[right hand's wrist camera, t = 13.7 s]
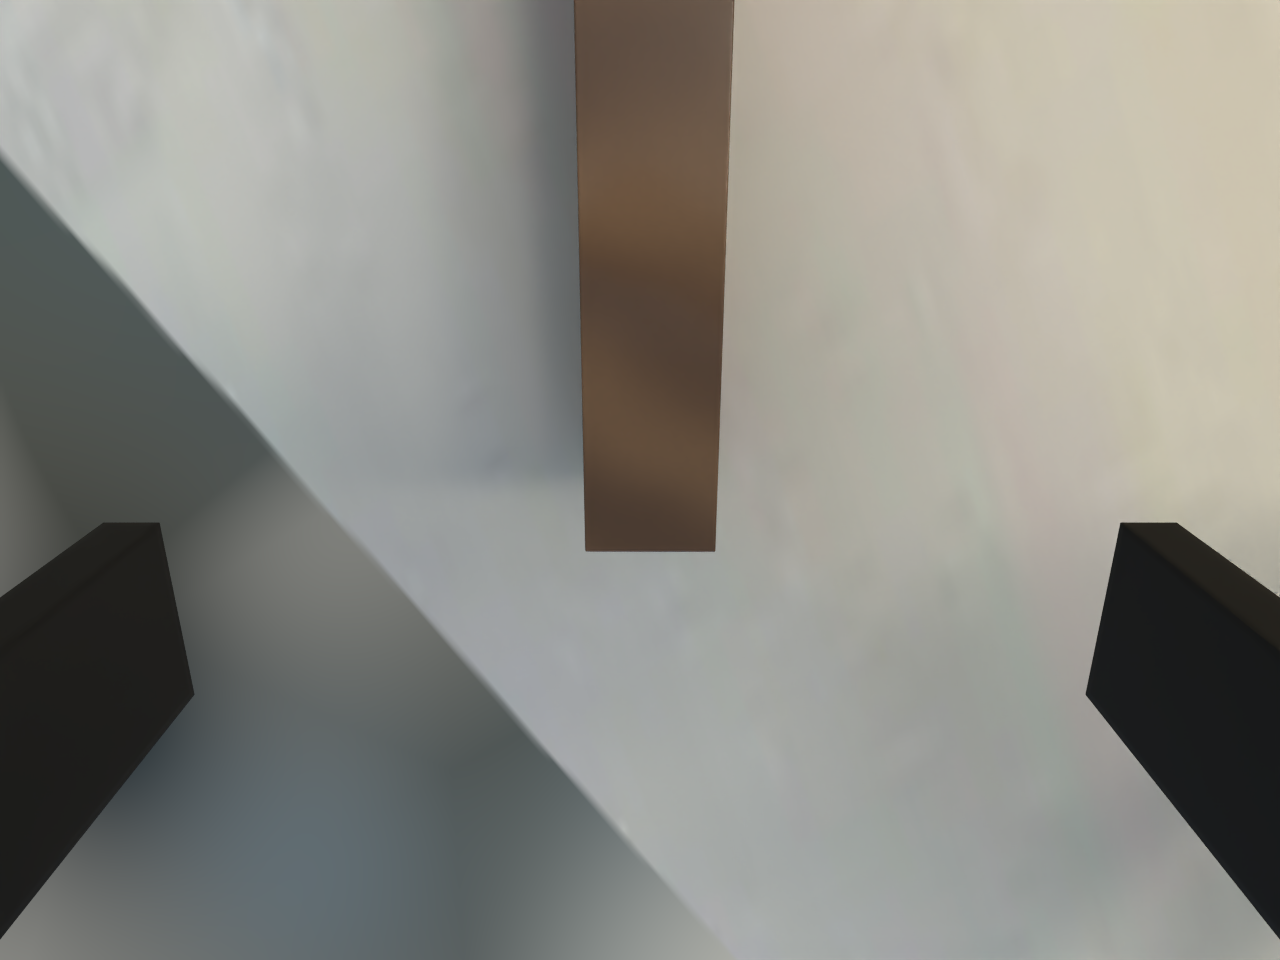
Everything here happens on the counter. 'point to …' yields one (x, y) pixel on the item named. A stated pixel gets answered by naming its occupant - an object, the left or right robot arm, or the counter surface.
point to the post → (652, 266)
